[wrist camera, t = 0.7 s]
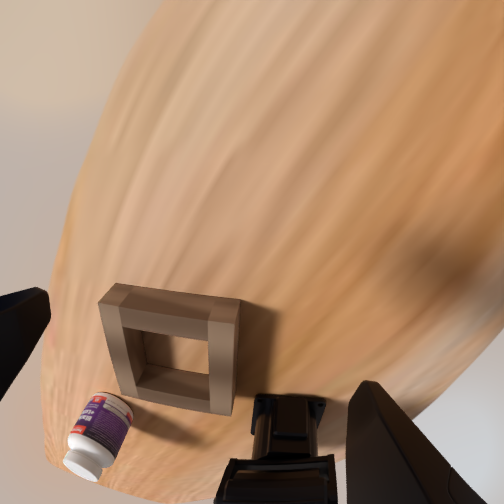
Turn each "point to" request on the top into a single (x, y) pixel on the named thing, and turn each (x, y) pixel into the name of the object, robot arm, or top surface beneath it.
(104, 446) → the pill bottle
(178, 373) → the socket
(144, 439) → the top surface
